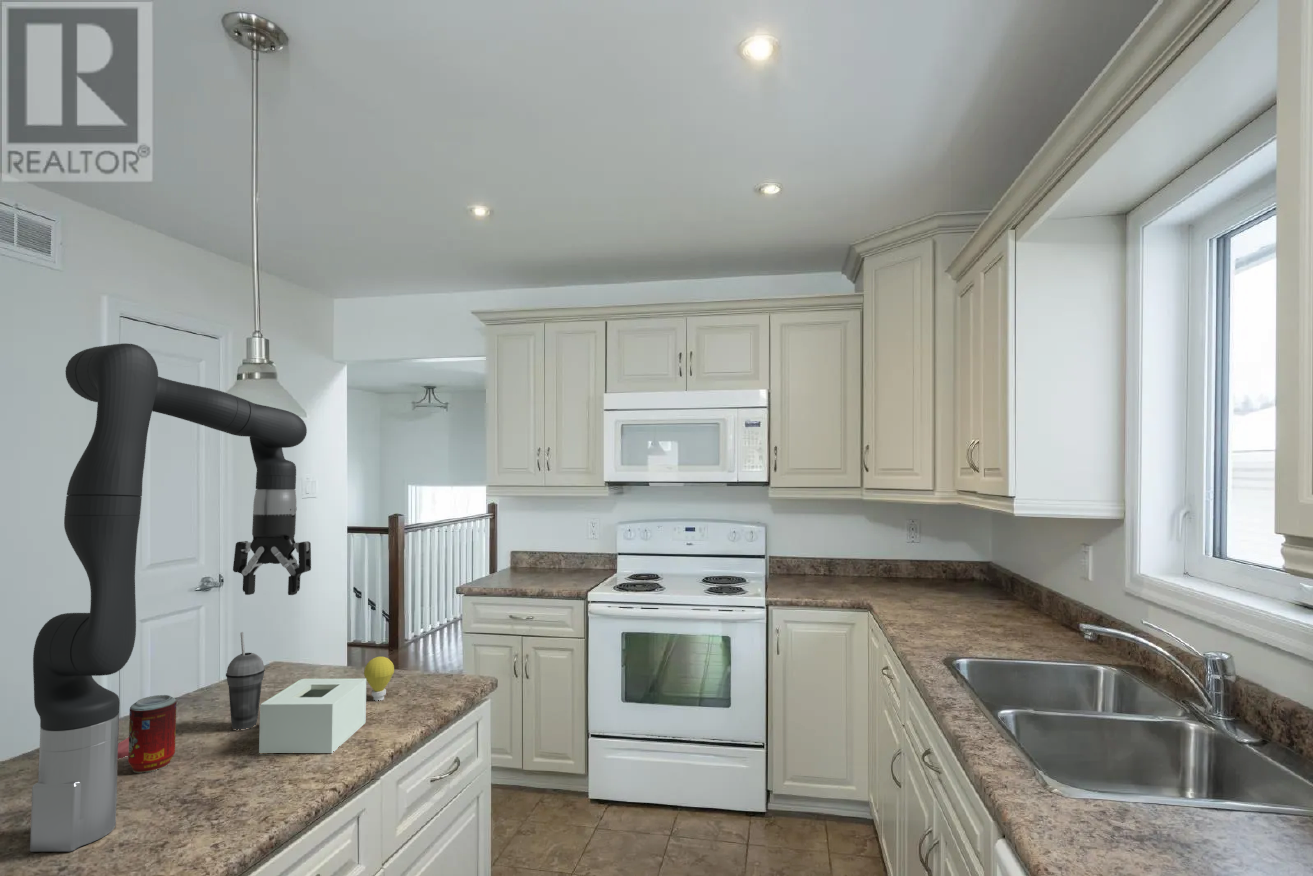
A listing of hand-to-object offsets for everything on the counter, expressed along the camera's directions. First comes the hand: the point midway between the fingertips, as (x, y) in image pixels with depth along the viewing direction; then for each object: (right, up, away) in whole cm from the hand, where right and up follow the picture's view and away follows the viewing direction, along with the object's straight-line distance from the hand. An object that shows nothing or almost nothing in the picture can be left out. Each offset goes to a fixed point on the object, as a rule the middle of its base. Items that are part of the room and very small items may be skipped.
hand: (271, 594), depth 135 cm
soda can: (-18, -30, -8) cm, 36 cm away
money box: (+6, -31, +5) cm, 32 cm away
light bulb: (+10, -32, +28) cm, 44 cm away
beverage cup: (-12, -31, +11) cm, 35 cm away
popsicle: (-28, -31, +2) cm, 42 cm away
